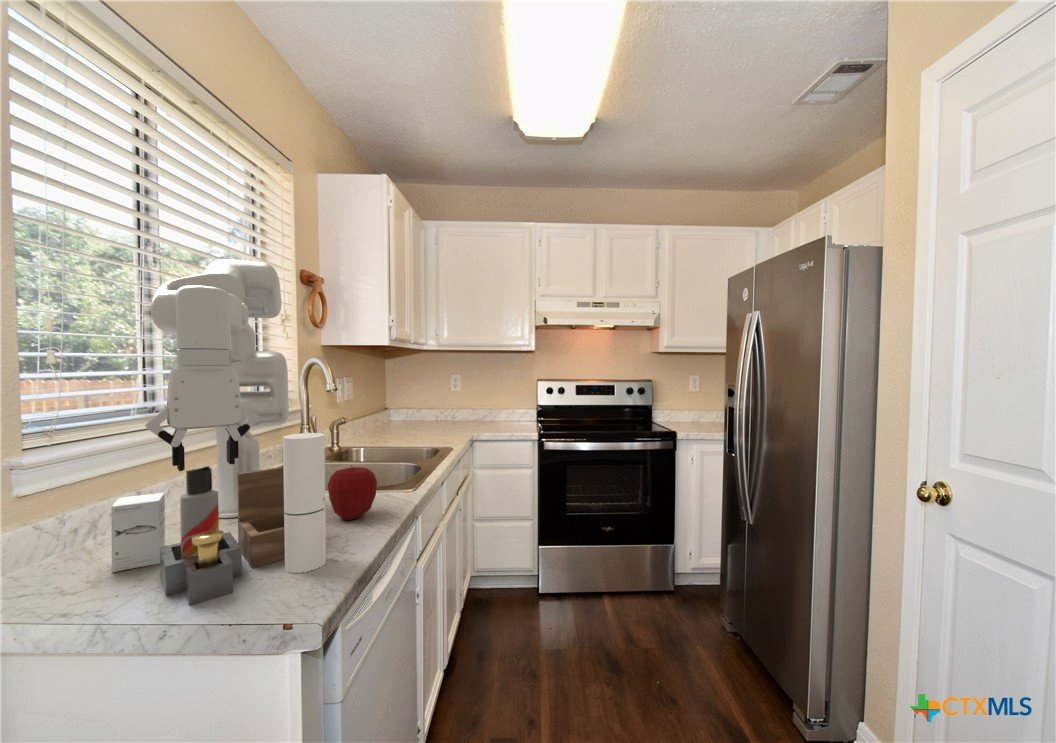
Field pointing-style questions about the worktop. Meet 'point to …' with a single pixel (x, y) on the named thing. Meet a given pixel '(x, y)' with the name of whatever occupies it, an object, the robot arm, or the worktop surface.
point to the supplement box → (137, 531)
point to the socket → (200, 571)
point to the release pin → (207, 547)
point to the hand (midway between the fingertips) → (206, 465)
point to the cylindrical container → (304, 502)
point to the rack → (261, 516)
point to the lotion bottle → (197, 509)
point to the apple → (352, 492)
